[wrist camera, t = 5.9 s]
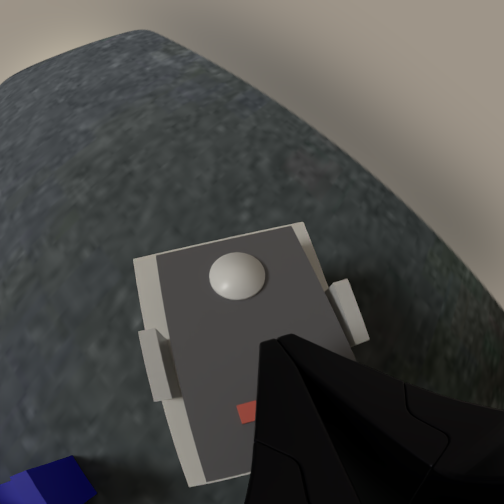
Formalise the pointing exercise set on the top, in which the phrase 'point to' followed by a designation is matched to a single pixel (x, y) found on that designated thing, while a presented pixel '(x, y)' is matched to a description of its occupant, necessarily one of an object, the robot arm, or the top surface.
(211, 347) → the rocker
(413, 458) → the robot arm
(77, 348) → the top surface
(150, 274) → the switch box
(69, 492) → the blue notched block
